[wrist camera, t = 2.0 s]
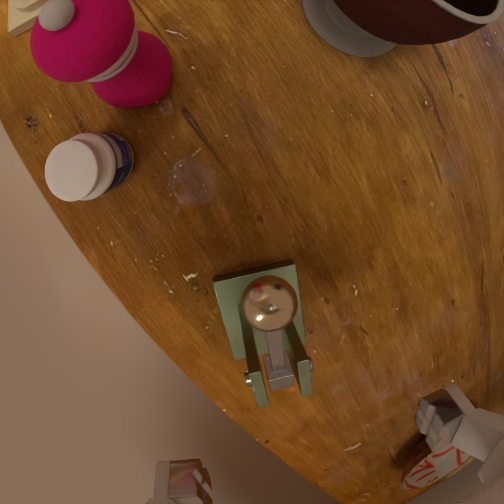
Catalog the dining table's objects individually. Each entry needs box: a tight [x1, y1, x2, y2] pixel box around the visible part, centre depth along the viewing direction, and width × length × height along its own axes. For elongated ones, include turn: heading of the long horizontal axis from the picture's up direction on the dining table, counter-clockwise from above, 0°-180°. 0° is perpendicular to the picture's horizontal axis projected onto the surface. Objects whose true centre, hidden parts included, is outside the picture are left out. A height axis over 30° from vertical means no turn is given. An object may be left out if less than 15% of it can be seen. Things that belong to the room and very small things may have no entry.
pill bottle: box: [45, 133, 134, 201], centre depth 25 cm, size 6×6×10 cm
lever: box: [241, 275, 298, 391], centre depth 23 cm, size 14×3×3 cm, turn 11°
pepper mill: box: [30, 0, 172, 108], centre depth 17 cm, size 7×7×20 cm
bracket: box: [213, 260, 313, 407], centre depth 31 cm, size 11×9×13 cm
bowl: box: [401, 435, 471, 491], centre depth 52 cm, size 25×25×8 cm
